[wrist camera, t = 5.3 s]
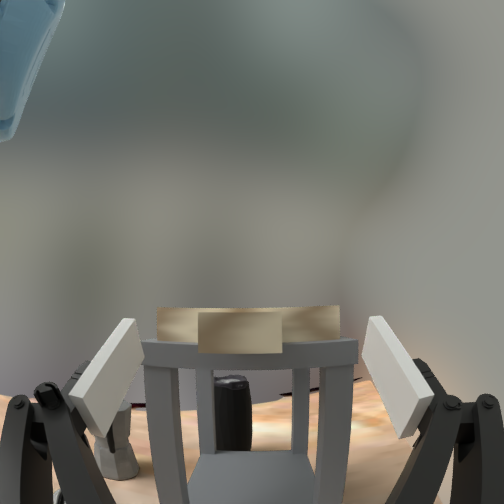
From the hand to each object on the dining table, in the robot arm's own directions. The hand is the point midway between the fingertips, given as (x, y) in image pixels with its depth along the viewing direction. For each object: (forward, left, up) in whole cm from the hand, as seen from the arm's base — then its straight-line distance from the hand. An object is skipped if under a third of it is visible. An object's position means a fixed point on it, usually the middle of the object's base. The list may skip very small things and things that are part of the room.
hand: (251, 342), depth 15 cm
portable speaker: (-6, +43, -31) cm, 53 cm away
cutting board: (-1, +13, -1) cm, 13 cm away
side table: (-1, +19, -31) cm, 36 cm away
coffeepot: (-27, +30, -31) cm, 51 cm away
